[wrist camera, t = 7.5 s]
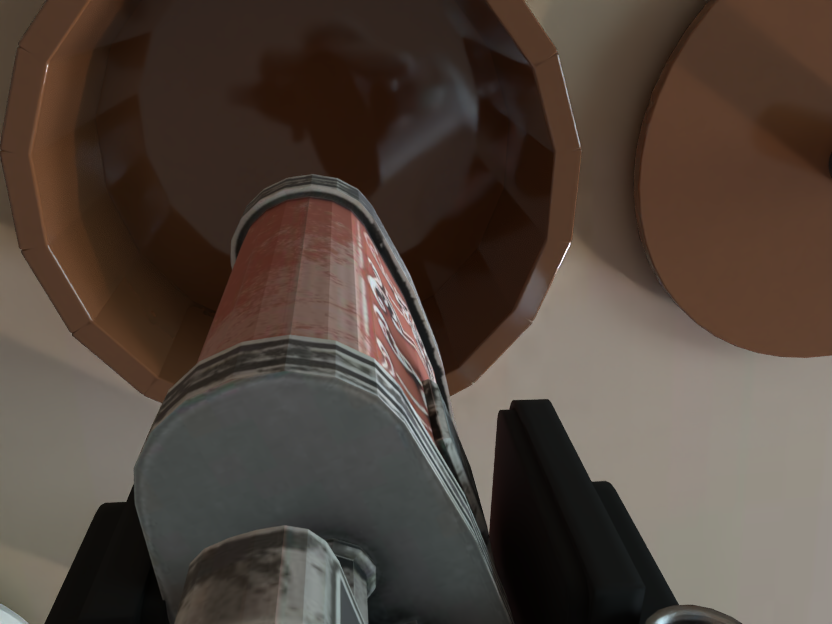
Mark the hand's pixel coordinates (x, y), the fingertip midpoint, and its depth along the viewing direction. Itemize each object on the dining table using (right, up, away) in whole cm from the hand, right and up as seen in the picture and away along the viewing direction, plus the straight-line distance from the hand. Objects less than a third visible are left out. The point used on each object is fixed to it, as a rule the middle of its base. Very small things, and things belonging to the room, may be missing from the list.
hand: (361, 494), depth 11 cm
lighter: (0, +2, +4) cm, 4 cm away
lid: (+17, +9, +17) cm, 25 cm away
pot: (-3, +8, +15) cm, 18 cm away
